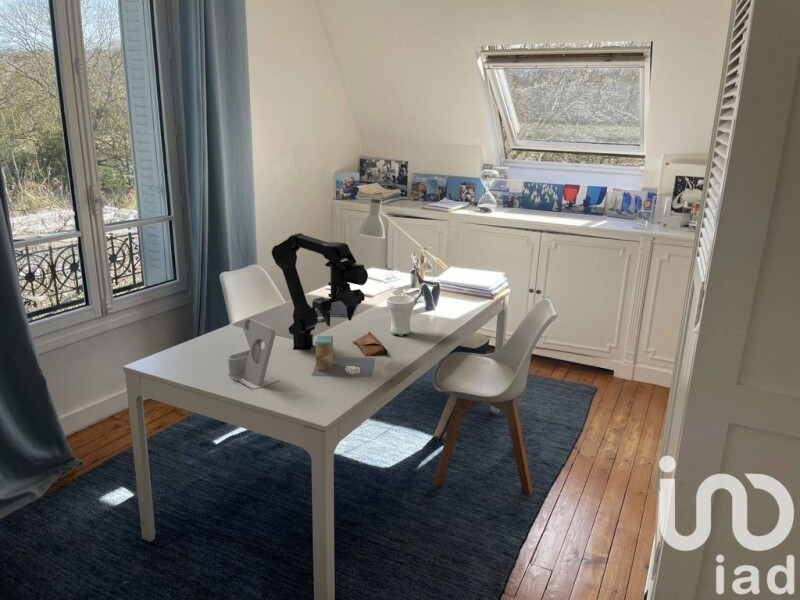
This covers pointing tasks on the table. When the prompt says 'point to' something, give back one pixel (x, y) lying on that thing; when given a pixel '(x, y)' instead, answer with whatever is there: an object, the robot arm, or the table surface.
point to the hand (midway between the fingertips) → (339, 323)
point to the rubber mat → (342, 362)
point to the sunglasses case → (370, 345)
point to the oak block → (324, 352)
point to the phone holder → (254, 356)
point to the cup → (400, 313)
